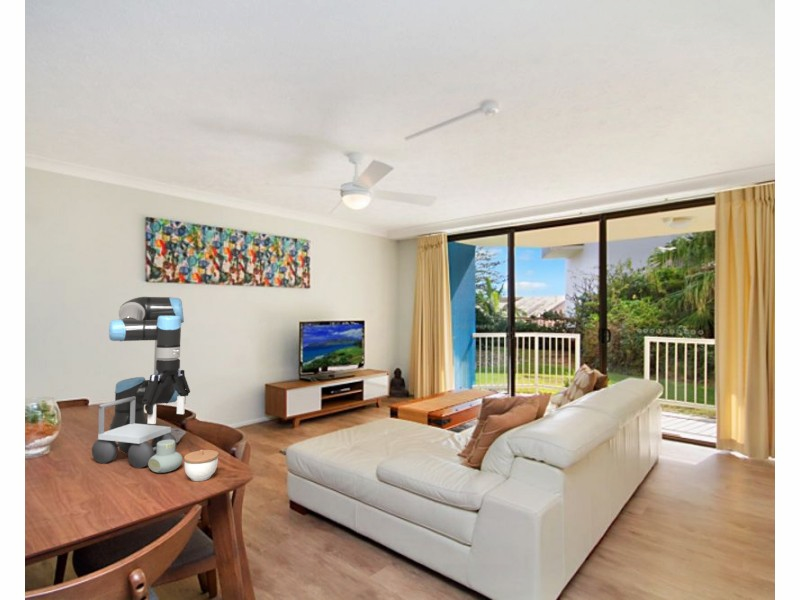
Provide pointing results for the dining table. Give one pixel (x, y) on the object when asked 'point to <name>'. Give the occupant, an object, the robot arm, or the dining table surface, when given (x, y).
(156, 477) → the dining table surface
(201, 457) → the lidded jar
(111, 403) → the trolley
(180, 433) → the decorative stone
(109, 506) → the dining table surface
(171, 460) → the air freshener
